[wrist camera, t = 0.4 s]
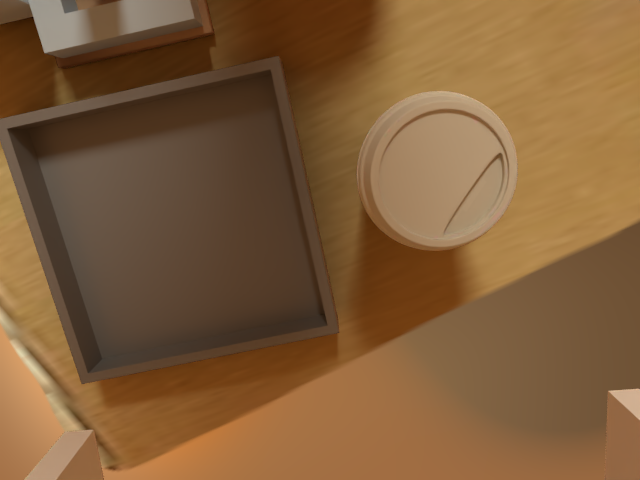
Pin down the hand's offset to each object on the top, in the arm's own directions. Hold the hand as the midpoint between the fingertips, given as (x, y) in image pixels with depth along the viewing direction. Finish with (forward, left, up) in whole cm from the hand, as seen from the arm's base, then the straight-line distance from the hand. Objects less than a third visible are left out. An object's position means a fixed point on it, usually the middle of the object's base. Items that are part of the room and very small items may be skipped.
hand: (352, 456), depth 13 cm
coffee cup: (-5, +6, -27) cm, 28 cm away
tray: (-4, -11, -26) cm, 29 cm away
